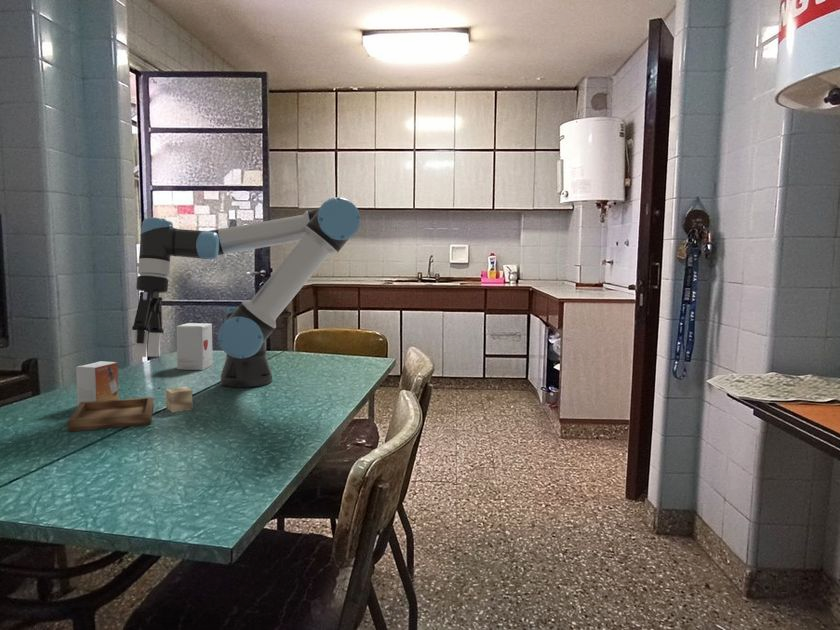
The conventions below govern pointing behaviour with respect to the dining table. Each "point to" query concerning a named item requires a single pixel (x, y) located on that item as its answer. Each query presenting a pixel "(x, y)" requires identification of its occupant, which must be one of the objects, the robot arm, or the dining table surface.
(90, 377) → the small box
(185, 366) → the supplement box
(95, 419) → the tray
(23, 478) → the dining table surface
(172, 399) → the beech block
